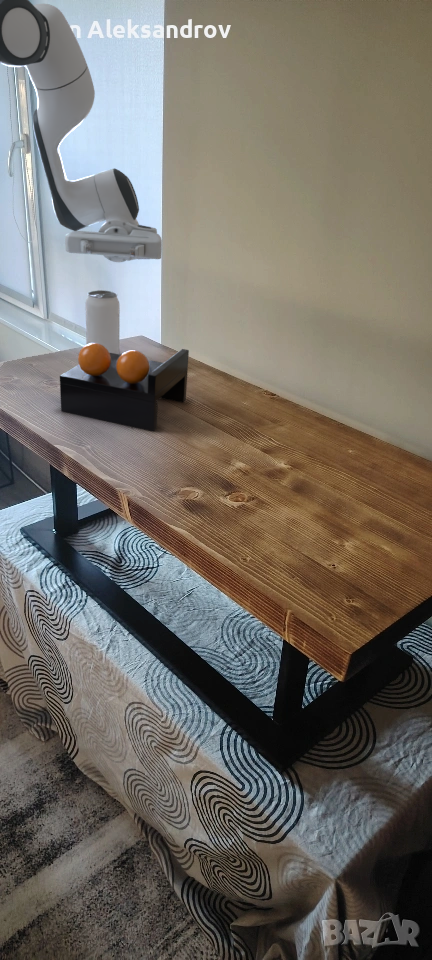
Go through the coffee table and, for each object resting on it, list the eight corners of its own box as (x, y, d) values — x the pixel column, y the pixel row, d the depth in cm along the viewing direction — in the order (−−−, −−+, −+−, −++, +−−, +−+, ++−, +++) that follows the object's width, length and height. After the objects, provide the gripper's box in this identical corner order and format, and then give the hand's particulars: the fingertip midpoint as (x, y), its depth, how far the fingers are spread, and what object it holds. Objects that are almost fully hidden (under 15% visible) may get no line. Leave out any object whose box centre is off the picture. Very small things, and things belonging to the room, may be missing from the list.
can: (126, 355, 126) (126, 294, 120) (104, 362, 121) (103, 299, 115) (101, 347, 129) (101, 288, 123) (79, 354, 124) (77, 293, 118)
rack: (61, 411, 100) (57, 344, 94) (102, 383, 111) (101, 322, 106) (153, 431, 96) (156, 362, 90) (185, 400, 107) (189, 338, 102)
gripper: (69, 221, 136) (57, 231, 124) (163, 228, 138) (160, 238, 126) (70, 251, 139) (59, 264, 127) (162, 258, 141) (159, 271, 129)
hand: (110, 251), depth 126 cm, fingers open, 8 cm apart
